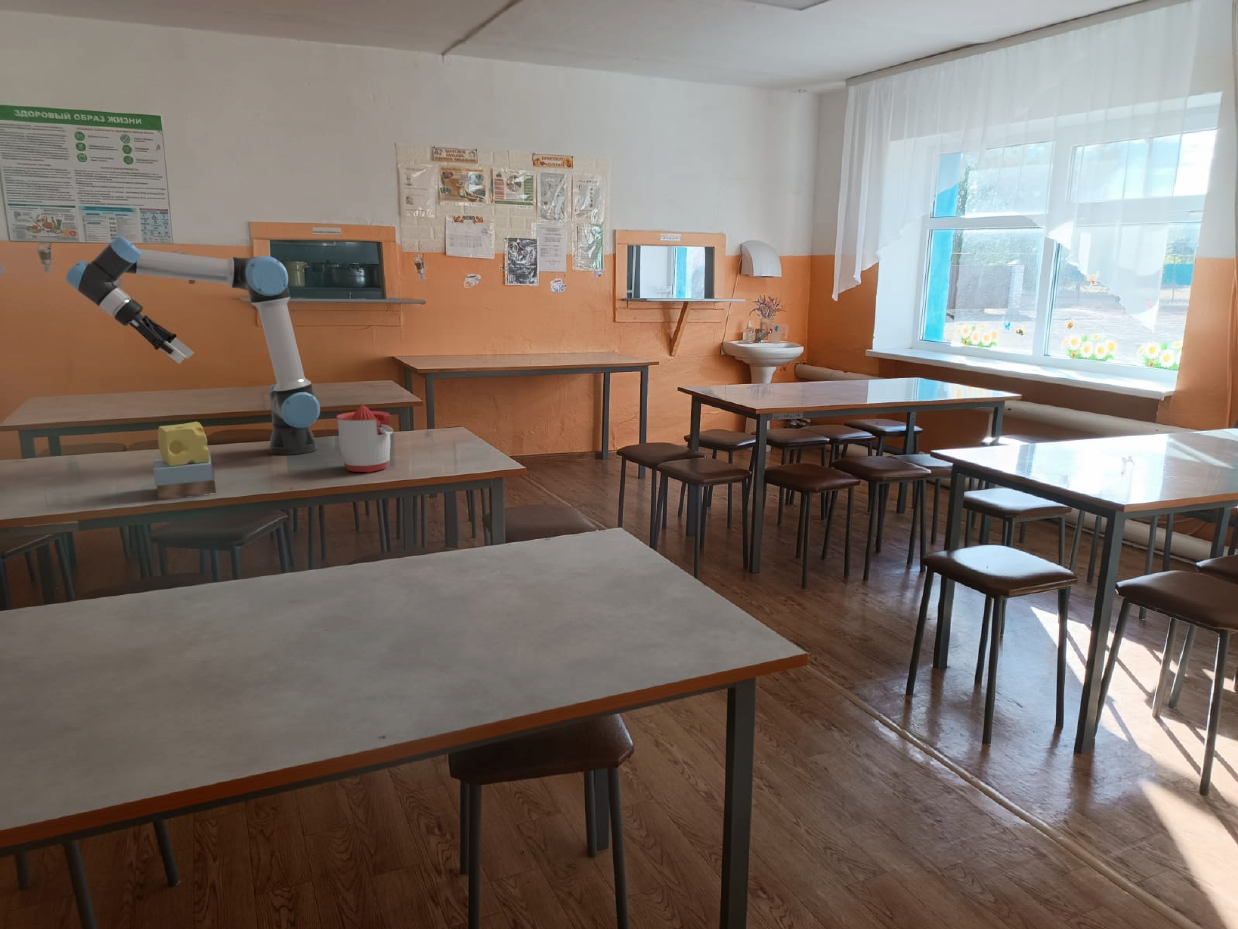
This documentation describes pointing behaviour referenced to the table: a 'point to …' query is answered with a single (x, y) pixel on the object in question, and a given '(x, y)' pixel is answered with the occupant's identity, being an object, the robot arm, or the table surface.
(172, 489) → the tower base block
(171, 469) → the tower top block
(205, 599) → the table surface
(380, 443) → the citrus juicer
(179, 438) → the cheese
